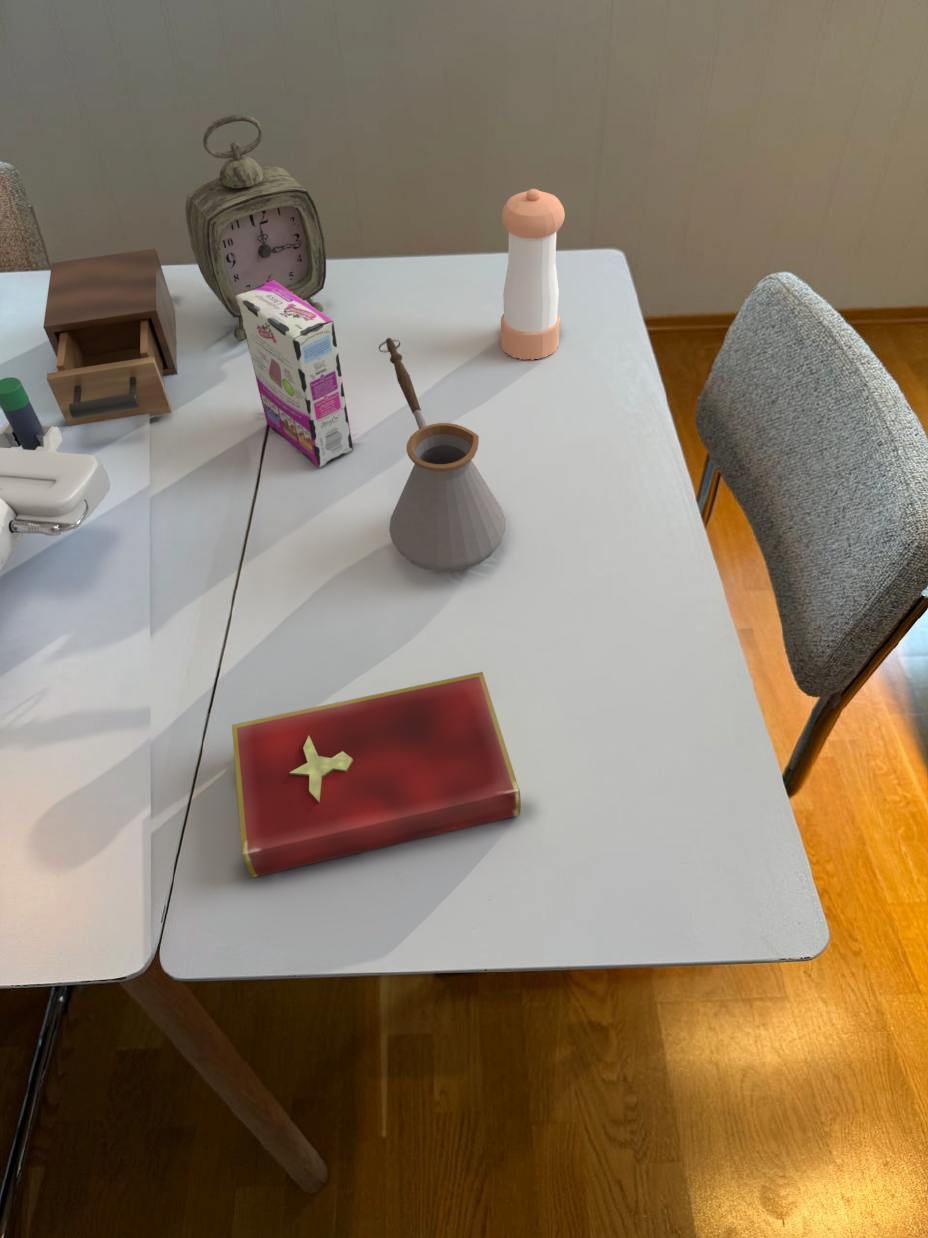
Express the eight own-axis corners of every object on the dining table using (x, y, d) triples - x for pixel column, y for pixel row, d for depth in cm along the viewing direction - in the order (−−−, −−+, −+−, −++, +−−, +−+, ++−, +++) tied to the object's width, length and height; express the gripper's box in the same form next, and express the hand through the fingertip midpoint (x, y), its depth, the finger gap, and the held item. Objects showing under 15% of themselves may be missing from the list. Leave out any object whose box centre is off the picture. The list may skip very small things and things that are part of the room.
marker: (51, 512, 96) (-11, 396, 84) (53, 496, 97) (-8, 379, 86) (77, 508, 96) (19, 391, 85) (78, 491, 98) (21, 374, 86)
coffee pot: (523, 567, 88) (526, 447, 77) (413, 601, 86) (399, 482, 74) (448, 439, 101) (441, 320, 90) (351, 465, 99) (330, 347, 87)
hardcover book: (520, 819, 71) (521, 793, 68) (254, 881, 68) (242, 858, 65) (483, 698, 78) (482, 669, 75) (242, 750, 76) (230, 723, 73)
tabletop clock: (233, 351, 114) (177, 145, 95) (208, 318, 119) (151, 116, 100) (336, 316, 118) (303, 113, 99) (308, 286, 123) (272, 87, 104)
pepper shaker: (489, 350, 112) (488, 196, 97) (518, 321, 116) (521, 169, 101) (541, 367, 109) (547, 212, 95) (569, 337, 113) (578, 183, 99)
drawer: (172, 439, 101) (154, 388, 96) (67, 457, 100) (42, 406, 95) (169, 348, 113) (153, 297, 108) (75, 362, 112) (54, 312, 106)
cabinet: (177, 374, 111) (156, 309, 104) (71, 390, 110) (43, 326, 103) (175, 310, 120) (155, 247, 114) (77, 325, 119) (51, 262, 112)
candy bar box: (356, 450, 101) (336, 319, 88) (320, 470, 99) (293, 339, 86) (300, 405, 106) (273, 276, 94) (264, 423, 104) (232, 294, 92)
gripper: (58, 510, 78) (121, 411, 87) (-154, 490, 81) (-72, 397, 89) (84, 560, 83) (142, 462, 91) (-116, 540, 85) (-42, 446, 94)
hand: (35, 429), depth 90 cm, fingers closed on marker, 2 cm apart
